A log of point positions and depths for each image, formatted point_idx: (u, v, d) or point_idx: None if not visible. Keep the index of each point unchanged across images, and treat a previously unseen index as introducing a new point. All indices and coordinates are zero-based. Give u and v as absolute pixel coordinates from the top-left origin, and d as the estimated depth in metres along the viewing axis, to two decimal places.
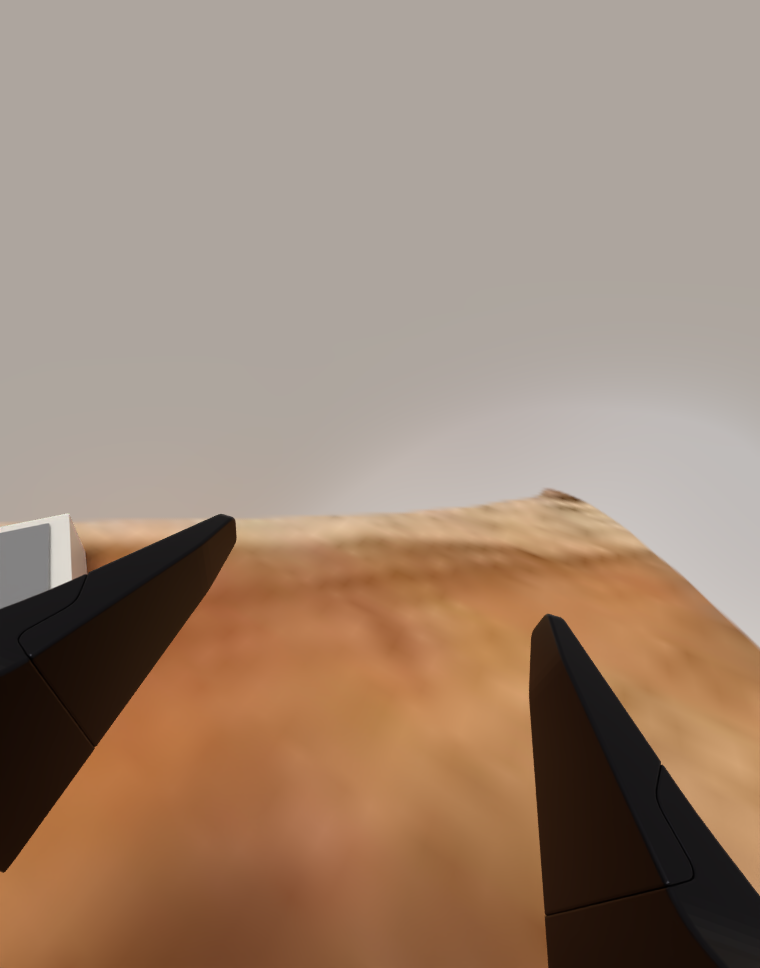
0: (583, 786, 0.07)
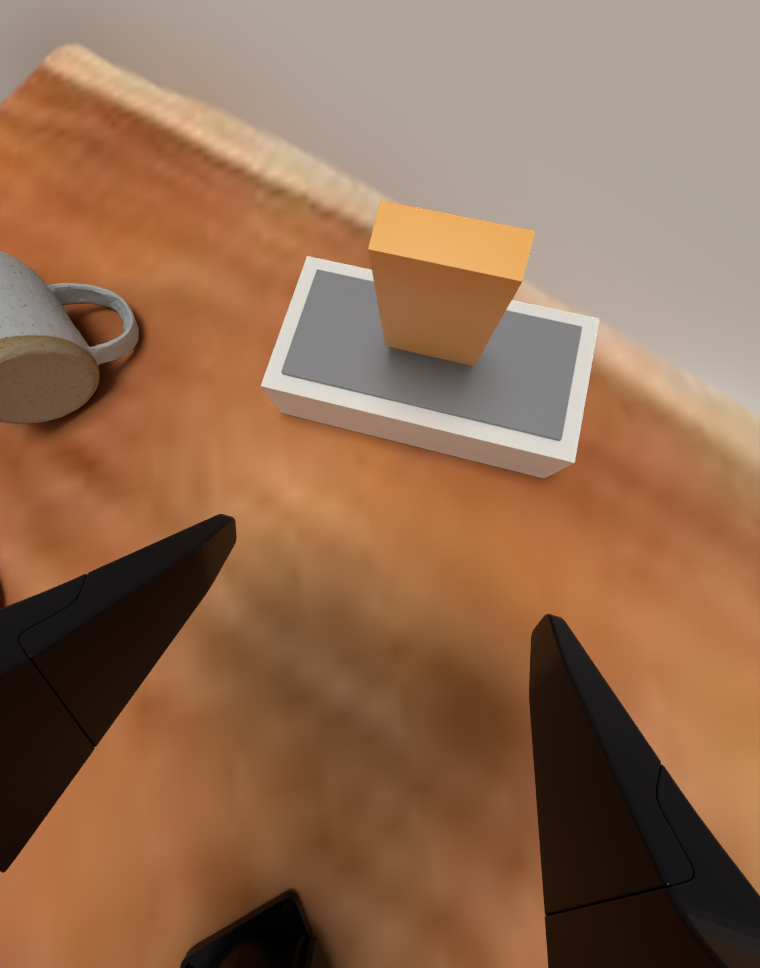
0: (583, 786, 0.07)
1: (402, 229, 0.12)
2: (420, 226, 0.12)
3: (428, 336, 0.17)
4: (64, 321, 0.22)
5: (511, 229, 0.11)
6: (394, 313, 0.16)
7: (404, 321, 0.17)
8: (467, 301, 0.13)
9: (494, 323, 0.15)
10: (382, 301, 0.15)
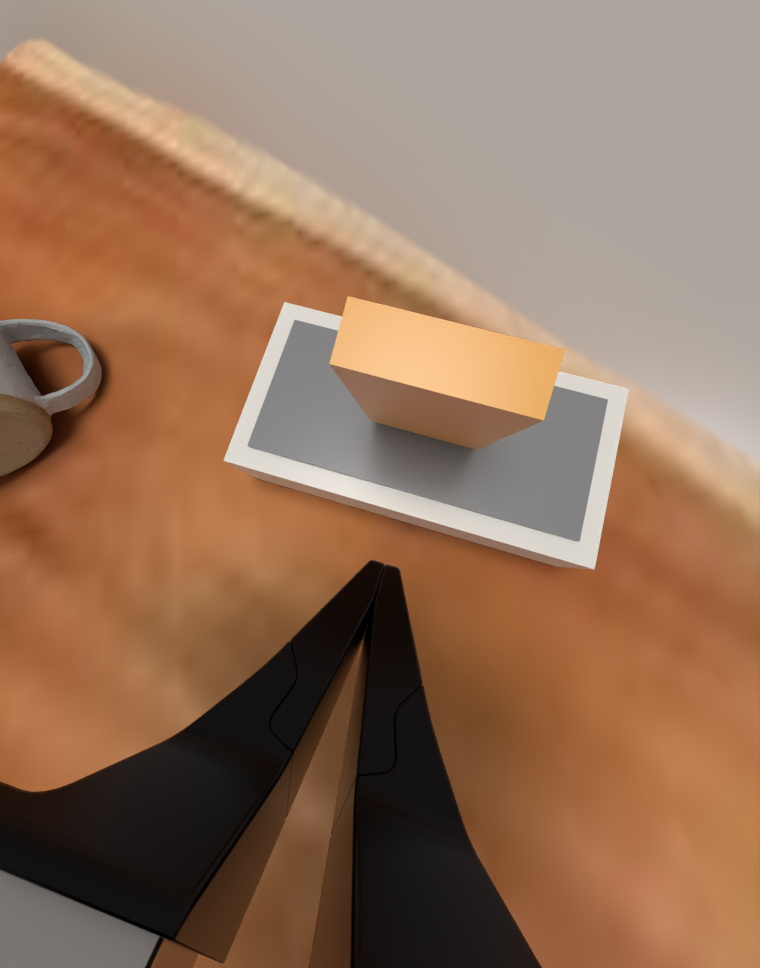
0: (357, 709, 0.07)
1: (377, 338, 0.08)
2: (402, 335, 0.08)
3: (420, 426, 0.14)
4: (6, 369, 0.19)
5: (531, 346, 0.08)
6: (376, 406, 0.13)
7: (389, 413, 0.13)
8: (467, 417, 0.10)
9: (502, 435, 0.11)
10: (359, 397, 0.12)
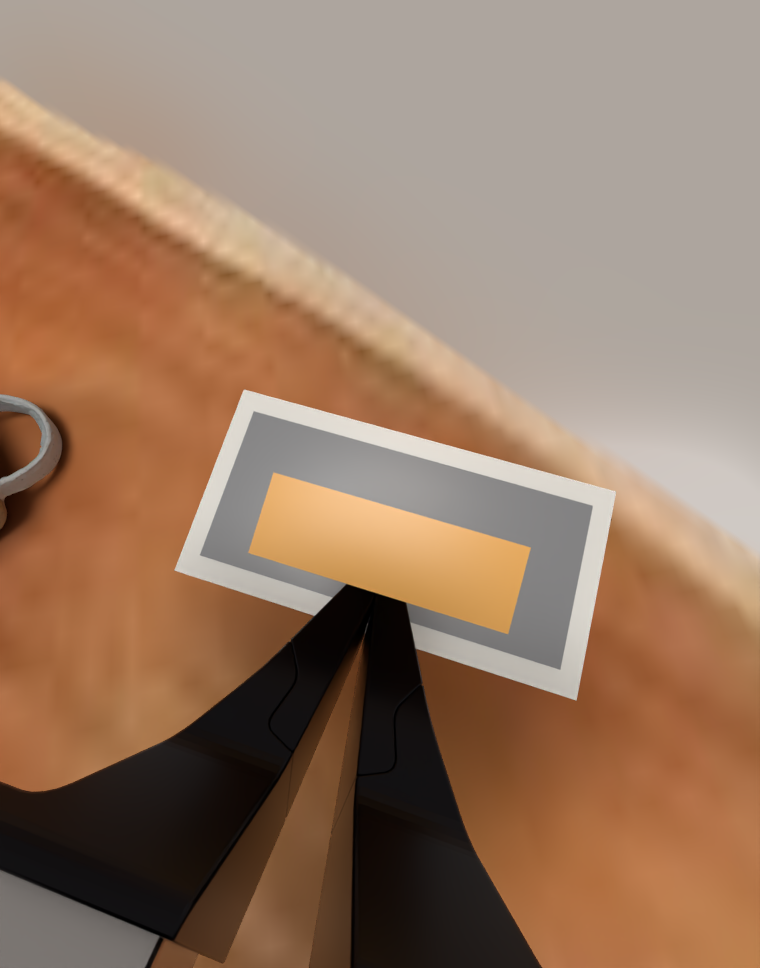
0: (357, 709, 0.07)
1: (307, 524, 0.07)
2: (337, 522, 0.07)
3: None
4: None
5: (491, 541, 0.07)
6: None
7: None
8: None
9: None
10: None
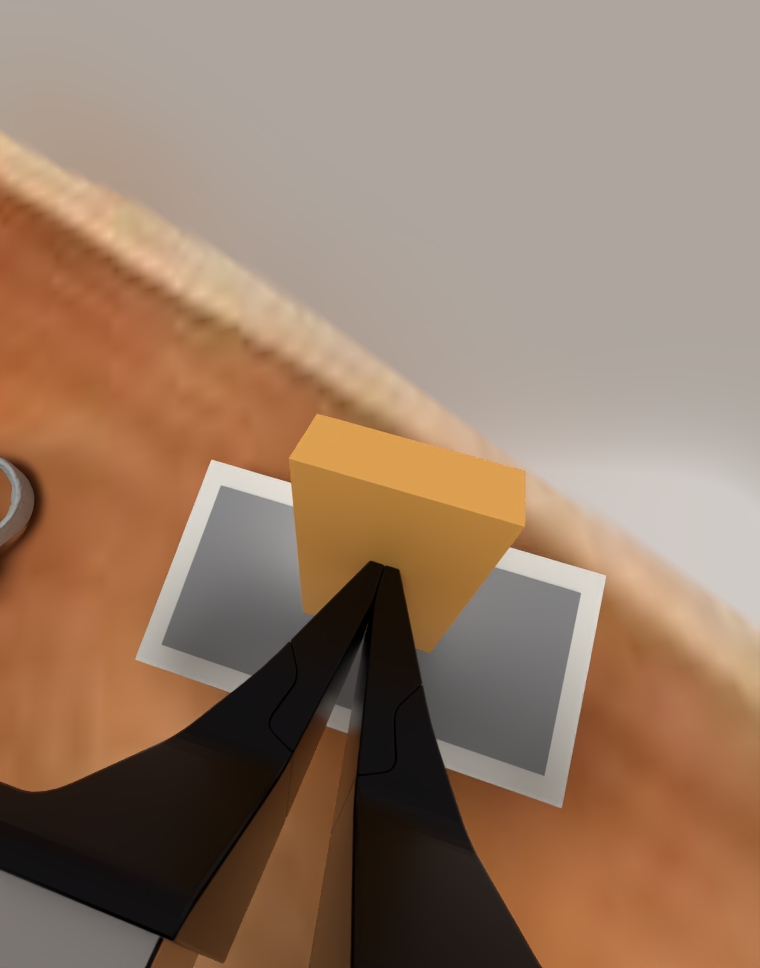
0: (357, 709, 0.07)
1: (343, 444, 0.08)
2: (369, 445, 0.08)
3: None
4: None
5: (493, 465, 0.08)
6: (320, 563, 0.11)
7: (334, 578, 0.11)
8: (432, 554, 0.09)
9: (469, 591, 0.10)
10: (304, 544, 0.10)
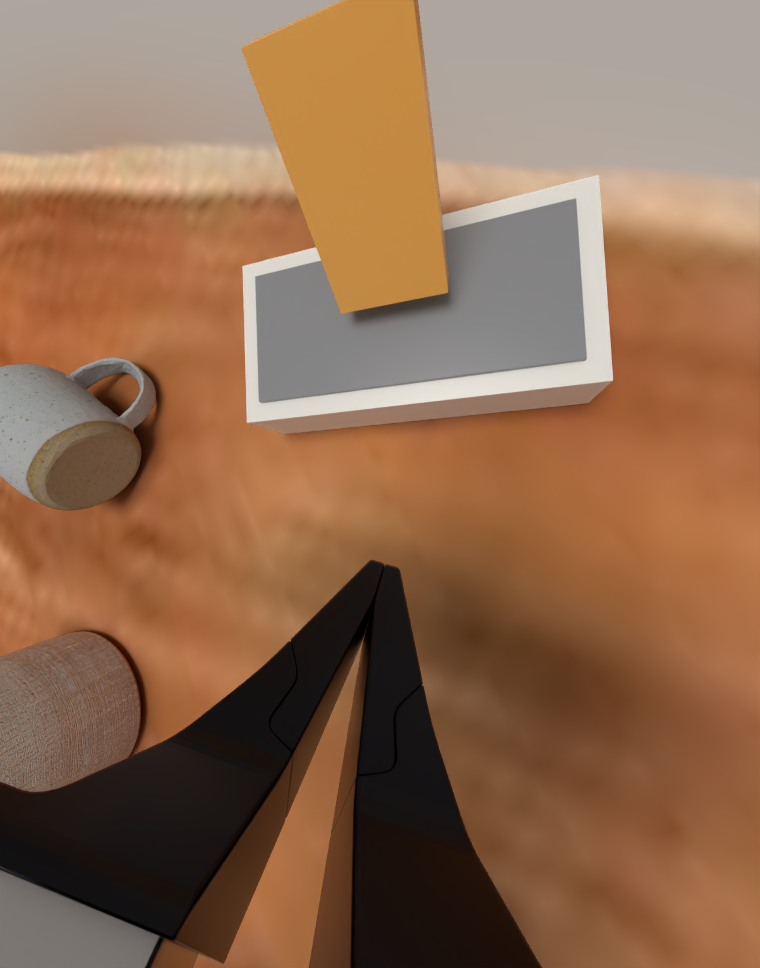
0: (358, 709, 0.07)
1: (276, 30, 0.11)
2: (294, 22, 0.11)
3: (372, 244, 0.15)
4: (88, 404, 0.24)
5: None
6: (319, 206, 0.14)
7: (336, 221, 0.14)
8: (376, 97, 0.11)
9: (424, 134, 0.12)
10: (297, 182, 0.13)
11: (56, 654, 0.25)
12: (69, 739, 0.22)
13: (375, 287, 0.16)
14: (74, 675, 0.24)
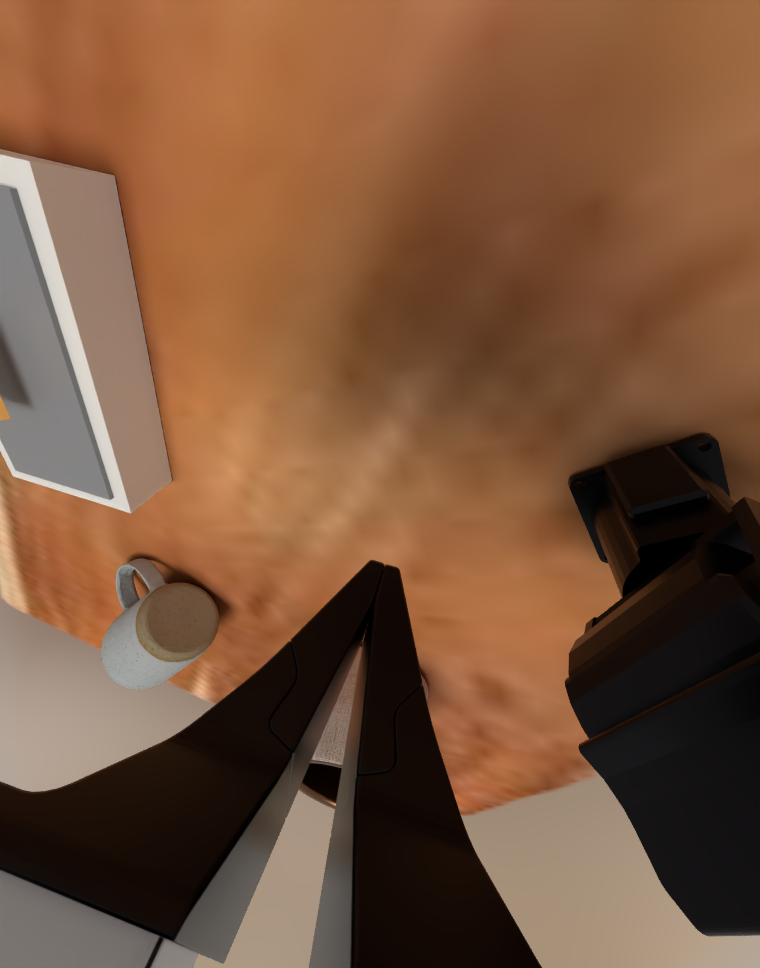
0: (357, 709, 0.07)
1: None
2: None
3: None
4: (133, 606, 0.32)
5: None
6: None
7: None
8: None
9: None
10: None
11: None
12: None
13: None
14: None
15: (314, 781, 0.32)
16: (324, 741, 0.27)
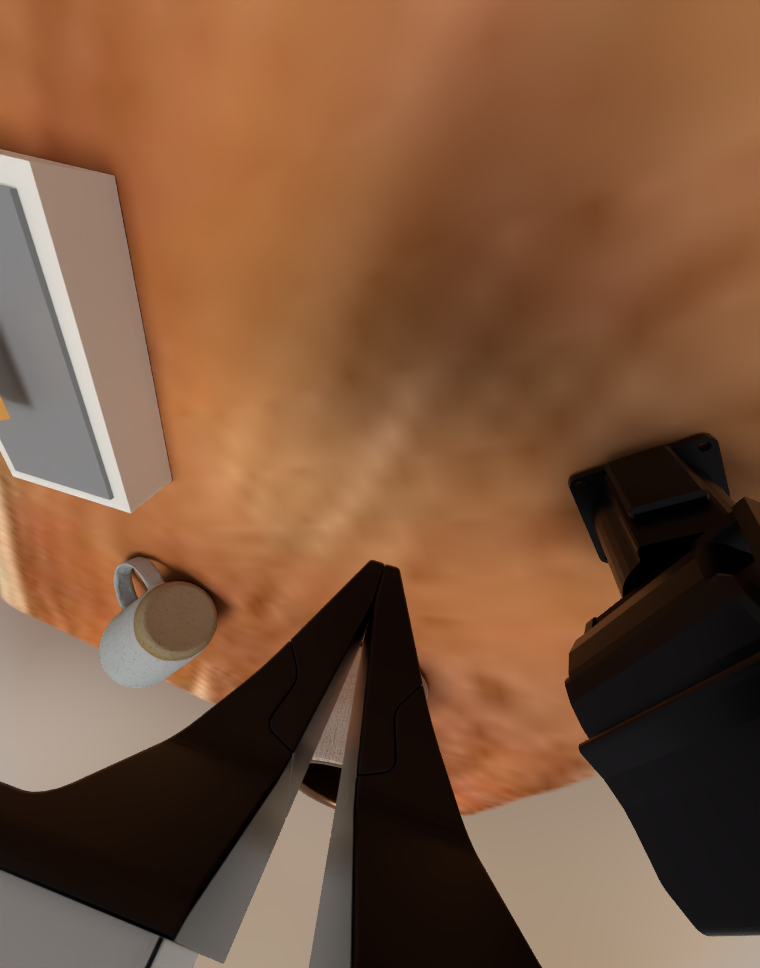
0: (357, 709, 0.07)
1: None
2: None
3: None
4: (131, 605, 0.32)
5: None
6: None
7: None
8: None
9: None
10: None
11: None
12: None
13: None
14: None
15: (314, 781, 0.32)
16: (324, 741, 0.27)
